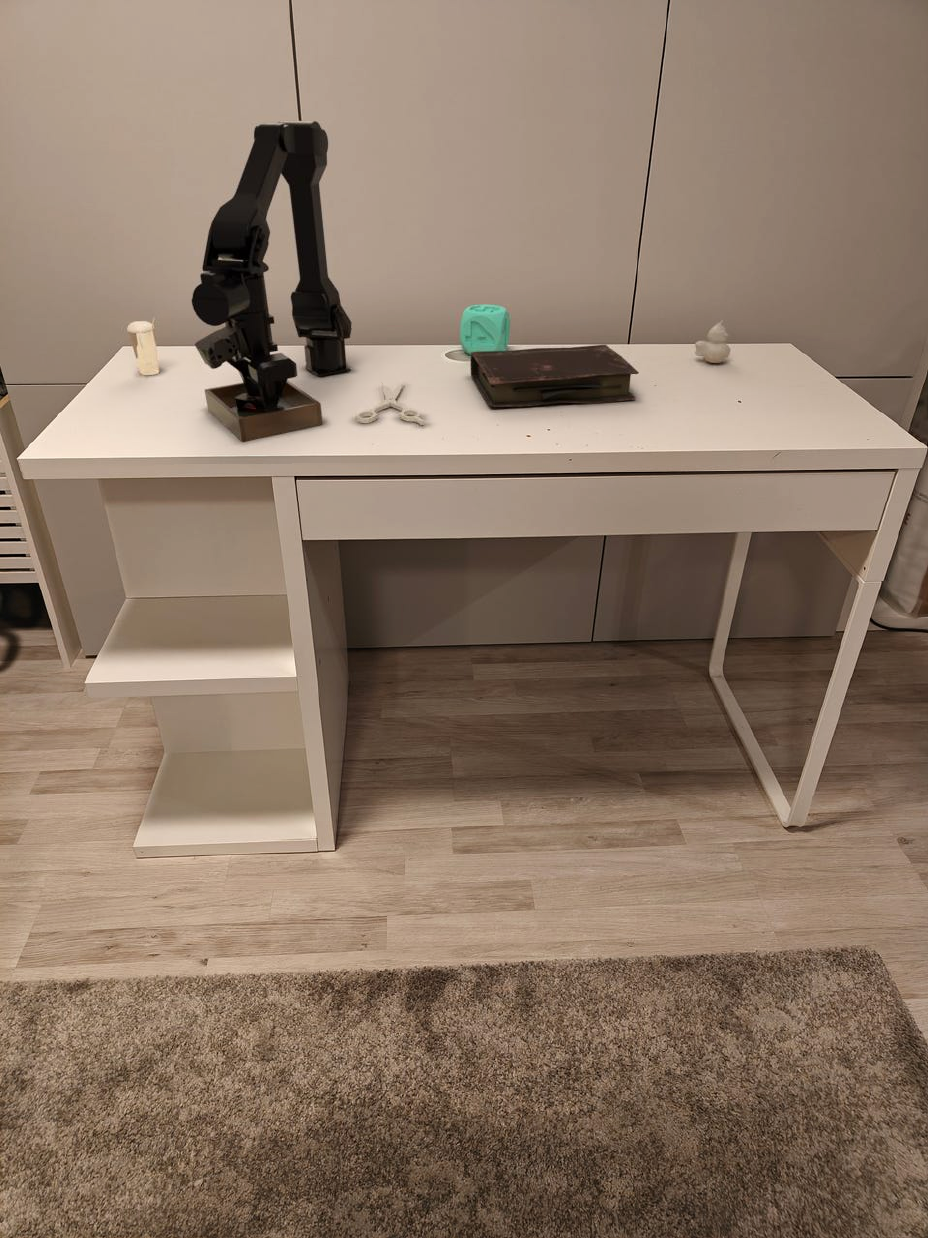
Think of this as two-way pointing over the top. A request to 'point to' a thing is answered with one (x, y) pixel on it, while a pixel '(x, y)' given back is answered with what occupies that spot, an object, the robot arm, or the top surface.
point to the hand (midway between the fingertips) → (263, 409)
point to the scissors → (391, 402)
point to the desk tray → (266, 423)
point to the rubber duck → (714, 345)
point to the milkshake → (144, 346)
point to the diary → (552, 376)
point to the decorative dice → (485, 328)
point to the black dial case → (250, 405)
